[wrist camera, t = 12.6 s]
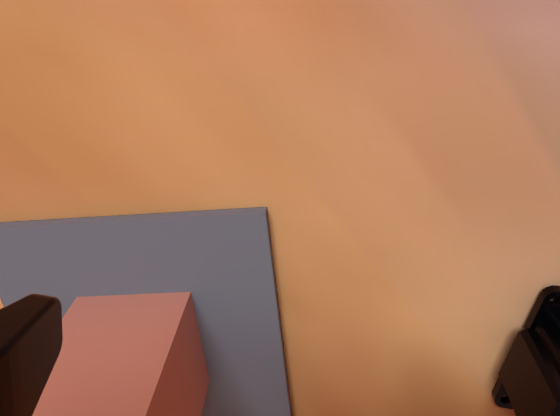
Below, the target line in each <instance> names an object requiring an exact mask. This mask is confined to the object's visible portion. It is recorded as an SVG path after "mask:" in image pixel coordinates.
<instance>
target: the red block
mask: <svg viewBox="0 0 560 416" xmlns="http://www.w3.org/2000/svg"><path fill="white" fill-rule="evenodd" d="M62 333H63V341H62V347H61V350H60V354H59V356H58V358H57V361H56V363H55V365H54V367H53V370H52V372H51V374H50V376H49V379H48V381H47V383H46V385H45V388H44V390H43V392H42V395H41V397H40V399H39V401H38V404H37V406H36V408H35V410H34V413H33V415H32V416H201V413H202V409H203V405H204V401H205V397H206V393H207V389H208V385H209V381H210V380H209V375H208V371H207V366H206V361H205V357H204V352H203V347H202V343H201V338H200V333H199V329H198V324H197V319H196V315H195V310H194V305H193V301H192V296H191V292H176V293H153V294H131V295H108V296H86V297H76V299H75V300H74V302H73V303H72V305H71V306H70V308H69V309H68V311H67V312H66V314H65V315H64V316H63V318H62Z"/></svg>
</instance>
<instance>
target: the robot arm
mask: <svg viewBox="0 0 560 416" xmlns="http://www.w3.org/2000/svg"><path fill="white" fill-rule="evenodd" d="M553 297H558V298H557V299H555V300H553V301H550V300H551V298H553ZM62 341H63V333H62V306H61V302H60V300H59V299H58V298H56V297H52V296H47V295H41V294H30V295H28V296H26V297H24V298H22V299H20V300H18V301H16V302H14V303H12V304H10V305H8V306H6V307H4V308H2V309H0V416H32V415H33V413H34V410H35V408H36V406H37V404H38V401H39V399H40V397H41V395H42V392H43V390H44V388H45V385H46V383H47V381H48V379H49V376H50V374H51V372H52V370H53V367H54V365H55V363H56V361H57V358H58V356H59V354H60V350H61V347H62ZM499 376H500V377H499V379H498V381H497V383H496V385H495V387H494V389H493V391H492V395H493V398H494V401H495V403H496V404H497V405H498V406H500V407H503V408H509V409H514V412H515V414H516V416H560V286H549V287H546V288H545V289H543V290H542V292H541V293H540V295H539V297H538V299H537V301H536V303H535V305H534V307H533V309H532V311H531V313H530V315H529V317H528V319H527V321H526V323H525V325H524V327H523V329H522V330H521V331H520V332H519V333H518V335H517V337H516V339H515V341H514V343H513V345H512V347H511V349H510V351H509V353H508V355H507V357H506V359H505V362H504V364H503V366H502V368H501V370H500V372H499ZM505 395H507V396H505ZM502 396H505V397H502Z"/></svg>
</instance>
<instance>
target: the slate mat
mask: <svg viewBox="0 0 560 416" xmlns="http://www.w3.org/2000/svg"><path fill="white" fill-rule="evenodd" d="M176 292H191V296H192V301H193V305H194V310H195V315H196V319H197V324H198V329H199V333H200V338H201V343H202V347H203V352H204V357H205V361H206V366H207V371H208V375H209V380H210V381H209V385H208V389H207V393H206V397H205V401H204V405H203V409H202V413H201V416H292V413H291V404H290V396H289V388H288V380H287V371H286V363H285V355H284V347H283V338H282V330H281V322H280V314H279V305H278V297H277V289H276V280H275V272H274V264H273V256H272V247H271V239H270V231H269V223H268V214H267V207H257V208H240V209H223V210H206V211H188V212H171V213H154V214H137V215H119V216H102V217H85V218H68V219H51V220H33V221H16V222H0V298H1V301H2V303H3V306H4V307H6V306H8V305H10V304H12V303H14V302H16V301H18V300H20V299H22V298H24V297H26V296H28V295H30V294H41V295H47V296H52V297H56V298H58V299H59V300H60V302H61V306H62V318H63V316H64V315H65V314H66V312H67V311H68V309H69V308H70V306H71V305H72V303H73V302H74V300H75V299H76V297H86V296H108V295H131V294H153V293H176Z"/></svg>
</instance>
